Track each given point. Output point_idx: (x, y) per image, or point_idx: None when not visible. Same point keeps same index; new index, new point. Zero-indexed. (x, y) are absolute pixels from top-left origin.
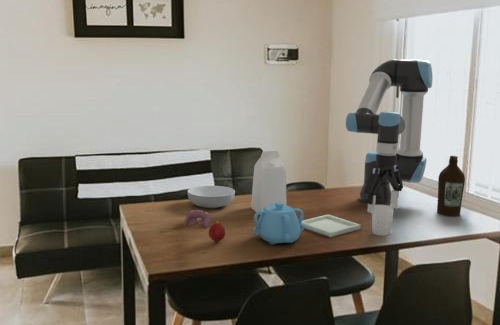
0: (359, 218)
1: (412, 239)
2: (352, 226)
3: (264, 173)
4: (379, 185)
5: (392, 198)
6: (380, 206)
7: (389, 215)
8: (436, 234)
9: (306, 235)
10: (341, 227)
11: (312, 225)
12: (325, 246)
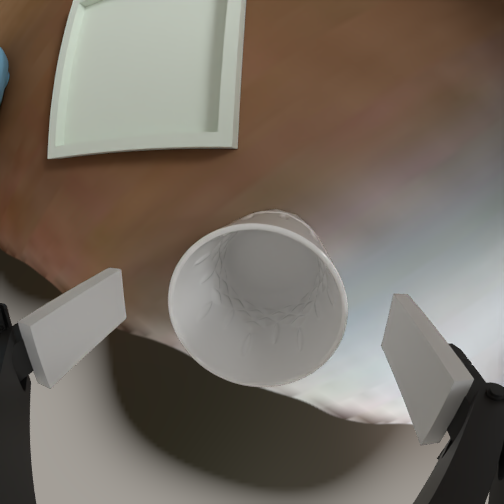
0: (390, 41)
1: (302, 382)
2: (171, 141)
3: None
4: (31, 470)
5: (413, 347)
6: (314, 252)
7: (243, 357)
8: None
9: (32, 100)
10: (162, 92)
11: (66, 52)
12: (15, 215)
